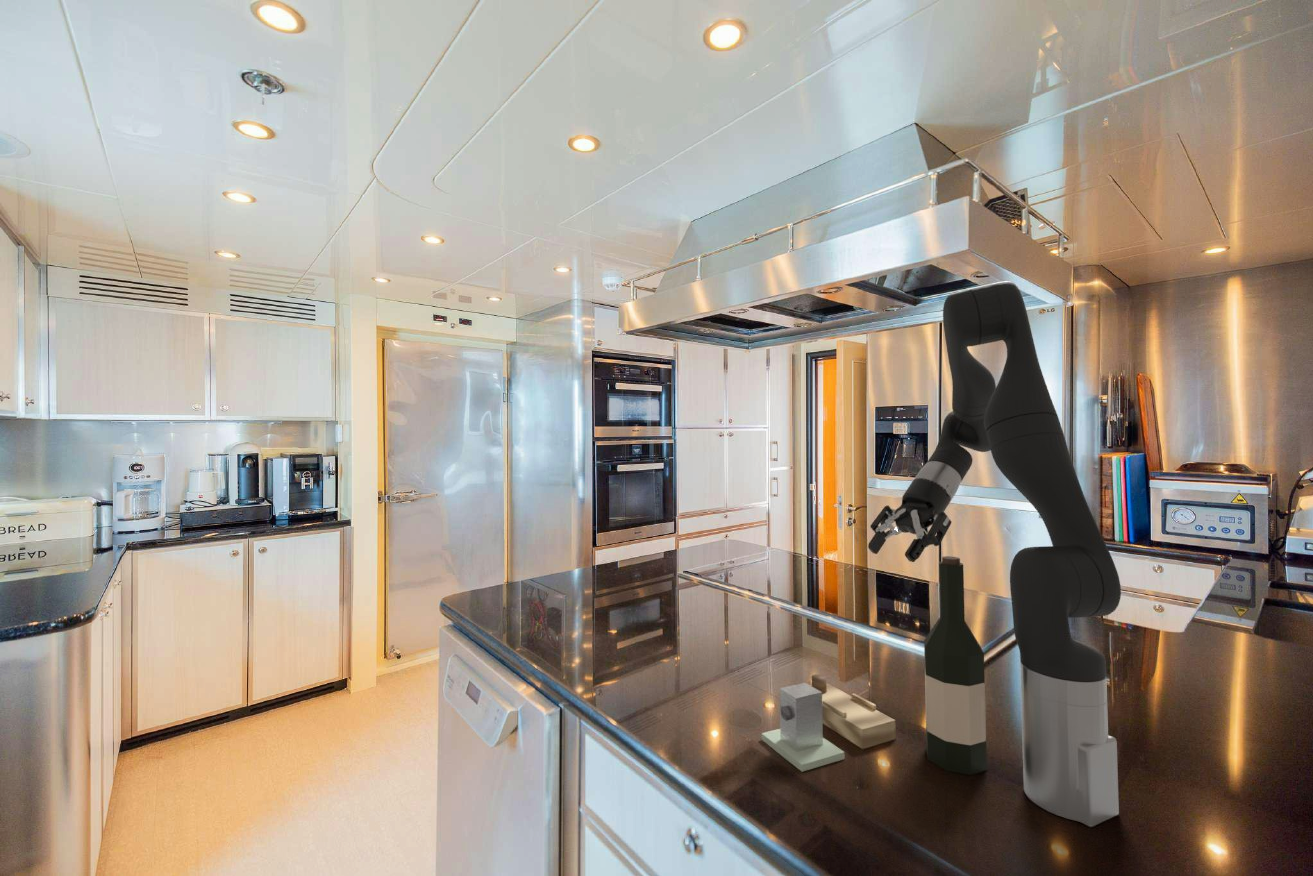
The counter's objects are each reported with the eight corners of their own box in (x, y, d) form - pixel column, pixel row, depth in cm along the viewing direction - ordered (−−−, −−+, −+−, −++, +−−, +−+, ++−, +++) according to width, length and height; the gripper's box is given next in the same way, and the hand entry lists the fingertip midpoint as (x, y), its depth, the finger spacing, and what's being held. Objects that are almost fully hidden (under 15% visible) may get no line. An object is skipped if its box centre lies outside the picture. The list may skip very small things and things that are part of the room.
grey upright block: (822, 744, 86) (821, 692, 86) (793, 753, 84) (792, 699, 84) (805, 732, 90) (805, 682, 90) (777, 740, 87) (776, 688, 87)
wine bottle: (916, 759, 83) (911, 558, 84) (936, 738, 89) (931, 551, 90) (978, 782, 77) (972, 565, 78) (995, 758, 83) (989, 557, 84)
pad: (844, 758, 84) (844, 752, 84) (801, 771, 80) (801, 764, 80) (801, 729, 93) (801, 723, 93) (761, 739, 89) (761, 733, 90)
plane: (895, 739, 89) (895, 705, 89) (862, 749, 86) (861, 713, 87) (827, 699, 104) (826, 670, 104) (796, 706, 101) (796, 676, 101)
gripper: (892, 475, 113) (850, 536, 108) (955, 478, 100) (911, 547, 95) (911, 500, 115) (871, 561, 110) (975, 506, 102) (933, 575, 97)
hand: (889, 554), depth 103 cm, fingers open, 8 cm apart
